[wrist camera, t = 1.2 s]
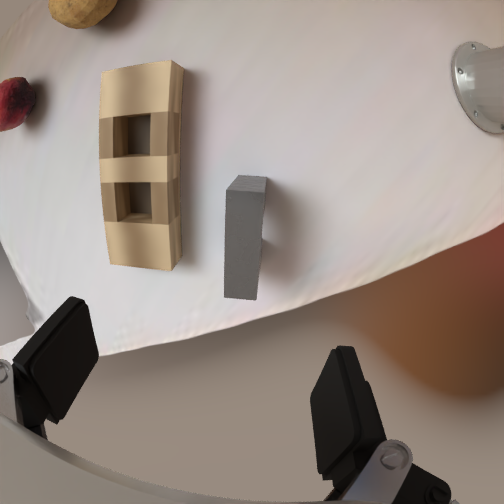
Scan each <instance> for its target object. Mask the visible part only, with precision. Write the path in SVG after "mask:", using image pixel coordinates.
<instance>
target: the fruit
mask: <svg viewBox="0 0 504 504" xmlns="http://www.w3.org/2000/svg"><path fill="white" fill-rule="evenodd" d="M34 103H35V92H34V90H33V88H32V87H31V86H30V85H29V83H28V82H27V80H26V79H25V78H23V77H15V78H10V79H6V80H4V81H3V82H2V83H1V84H0V132H2V131H6V130H10V129H13V128H15V127H17V126H19V125H20V124H22V123H23V122H24V120H25V119H26V118H27V117H28V115H29V113H30V112H31V109H32V106H33V105H34Z"/></svg>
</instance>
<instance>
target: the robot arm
mask: <svg viewBox="0 0 504 504" xmlns="http://www.w3.org/2000/svg"><path fill="white" fill-rule="evenodd" d="M452 78H453V83H454V87H455V91H456V93H457V96H458V99H459V101H460V103H461V105H462V107H463V109H464V110H465V112H466V113H467V115H468V116H469V117H470V119H471V120H472V121H473V122H474V123H475V124H476V125H477V126H478V127H479V128H481V129H483V130H484V131H486V132H490V133H496V134H499V133H503V132H504V46H503V47H498V48H493V49H490V48H488V47H487V46H485V45H483V44H481V43H478V42H467V43H464V44H462V45H460V46H459V47H458V48H457V49H456V51H455V53H454V55H453V59H452ZM98 357H99V353H98V349H97V345H96V341H95V336H94V332H93V328H92V323H91V318H90V313H89V308H88V305H87V304H86V303H85V301H84V300H83V299H80V298H76V297H73V296H71V297H69V298H68V299H67V300H66V301H65V302H64V303H63V304H62V305H61V306H60V307H59V308H58V309H57V310H56V311H55V312H54V313H53V314H52V315H51V317H50V318H49V319H48V320H47V321H46V322H45V323H44V324H43V325H42V326H41V327H40V328H39V330H38V331H37V332H36V333H35V334H34V335H33V336H32V337H31V338H30V340H29V341H28V342H27V343H26V344H25V345H24V346H23V348H22V349H21V350H20V351H19V352H18V354H17V355H16V356H15V357H14V358H13V362H14V363H13V364H12V365H11V364H10V363H9V362H8V361H7V360H3V359H0V504H459V503H458V502H457V501H456V500H453V501H452V500H451V490H450V487H449V485H448V484H447V483H446V482H444V481H443V480H441V479H439V478H438V477H436V476H434V475H432V474H430V473H429V472H427V471H425V470H423V469H422V468H420V467H418V466H416V465H415V464H413V463H412V461H413V457H412V452H411V450H410V449H409V447H408V446H407V445H406V444H405V443H403V442H401V441H399V440H392V439H391V440H387V439H386V435H385V432H384V428H383V425H382V421H381V419H380V415H379V412H378V409H377V405H376V402H375V399H374V396H373V393H372V390H371V387H370V384H369V382H368V381H365V379H364V376H363V373H362V370H361V367H360V364H359V361H358V358H357V355H356V352H355V349H354V347H352V346H337V348H336V349H332V350H331V352H330V355H329V357H328V359H327V361H326V363H325V366H324V368H323V370H322V372H321V375H320V376H319V379H318V381H317V383H316V385H315V387H314V389H313V391H312V393H311V397H310V404H311V413H312V421H313V430H314V439H315V449H316V459H317V469H318V473H319V474H322V477H323V480H333V487H334V489H333V490H332V491H331V492H330V493H329V495H328V496H327V497H326V498H325V499H324V501H317V502H269V501H251V500H240V499H239V500H238V499H230V498H222V497H215V496H209V495H203V494H197V493H191V492H186V491H182V490H177V489H173V488H168V487H164V486H161V485H157V484H153V483H150V482H146V481H143V480H139V479H136V478H133V477H130V476H127V475H124V474H121V473H119V472H116V471H113V470H111V469H108V468H105V467H103V466H100V465H98V464H95V463H93V462H91V461H88V460H86V459H84V458H82V457H79V456H77V455H75V454H73V453H71V452H69V451H67V450H65V449H63V448H61V447H59V446H57V445H55V444H53V443H51V442H49V441H48V439H47V435H46V431H45V426H44V421H45V419H47V420H49V421H51V422H53V423H55V424H58V422H59V420H61V419H63V418H64V417H65V415H66V413H67V412H68V410H69V408H70V406H71V405H72V403H73V401H74V399H75V398H76V396H77V394H78V392H79V391H80V389H81V387H82V386H83V384H84V382H85V380H86V379H87V377H88V376H89V374H90V372H91V371H92V369H93V367H94V366H95V364H96V363H97V361H98Z"/></svg>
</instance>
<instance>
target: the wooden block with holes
mask: <svg viewBox="0 0 504 504" xmlns="http://www.w3.org/2000/svg"><path fill="white" fill-rule="evenodd" d="M183 74H184V68H183V67H181V66H180V65H178V64H177V63H175V62H173V61H172V60H169V61H161V62H153V63H146V64H140V65H134V66H129V67H123V68H118V69H114V70H109V71H105V72H102V78H101V91H100V110H99V160H100V181H101V195H102V206H103V216H104V224H105V232H106V240H107V246H108V253H109V259H110V264H114V265H122V266H131V267H139V268H148V269H157V270H167V271H172V270H173V268H174V267H175V265H176V264H177V262H178V261H179V259H180V258H181V257H182V245H181V218H180V132H181V107H182V89H183Z"/></svg>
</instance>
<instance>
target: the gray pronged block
mask: <svg viewBox="0 0 504 504" xmlns="http://www.w3.org/2000/svg"><path fill="white" fill-rule="evenodd" d="M266 180H267V177H260V176H245V175H238V176H237V177H236V179H235V180H234V181H233V182H232V183H231V185H230V186H229V187H228V188H227V190H226V214H225V262H224V297H225V298H236V299H246V300H256V299H257V290H258V281H259V272H260V262H261V249H262V225H263V214H264V207H265V194H266Z"/></svg>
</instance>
